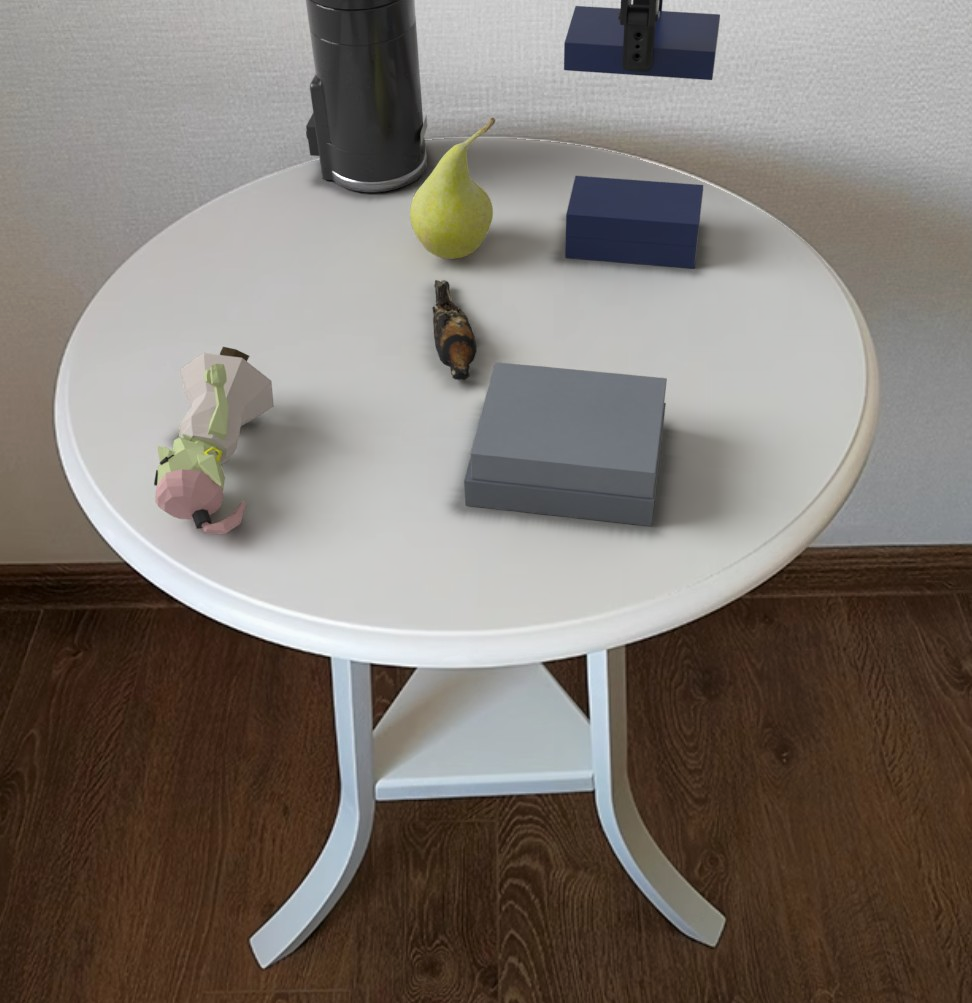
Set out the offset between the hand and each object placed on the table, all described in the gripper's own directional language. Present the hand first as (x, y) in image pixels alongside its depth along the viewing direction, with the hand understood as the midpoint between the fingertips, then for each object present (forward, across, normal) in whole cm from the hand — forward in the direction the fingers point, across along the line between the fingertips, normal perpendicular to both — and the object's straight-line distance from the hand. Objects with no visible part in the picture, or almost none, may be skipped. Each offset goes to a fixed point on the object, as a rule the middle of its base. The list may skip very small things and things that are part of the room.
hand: (641, 47), depth 94 cm
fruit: (+19, +2, -15) cm, 24 cm away
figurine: (+15, +23, -27) cm, 39 cm away
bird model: (+19, +14, -13) cm, 26 cm away
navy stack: (+19, -2, 0) cm, 19 cm away
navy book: (+1, 0, 0) cm, 1 cm away
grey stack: (+19, +27, -2) cm, 32 cm away
